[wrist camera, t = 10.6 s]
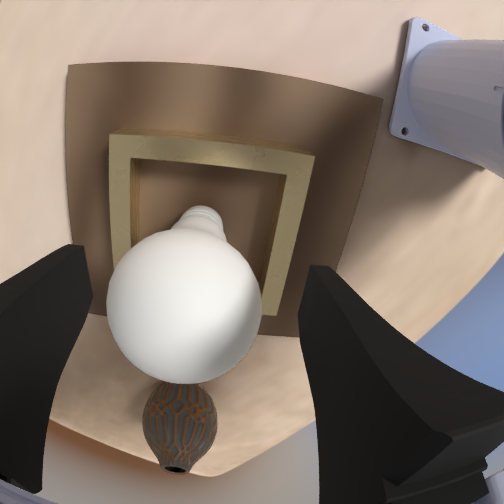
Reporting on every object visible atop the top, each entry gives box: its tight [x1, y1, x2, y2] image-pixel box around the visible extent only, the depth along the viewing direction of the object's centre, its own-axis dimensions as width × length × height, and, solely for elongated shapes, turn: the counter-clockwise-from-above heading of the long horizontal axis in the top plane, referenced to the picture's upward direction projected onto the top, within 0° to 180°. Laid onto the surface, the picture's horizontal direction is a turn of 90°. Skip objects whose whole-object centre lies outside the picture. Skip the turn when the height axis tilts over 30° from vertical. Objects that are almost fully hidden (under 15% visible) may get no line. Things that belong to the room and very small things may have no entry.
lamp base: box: [65, 62, 383, 337], centre depth 20 cm, size 18×18×1 cm
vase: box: [142, 382, 217, 475], centre depth 26 cm, size 7×7×9 cm
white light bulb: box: [106, 206, 262, 384], centre depth 15 cm, size 6×6×11 cm
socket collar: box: [109, 127, 315, 316], centre depth 18 cm, size 10×10×2 cm
